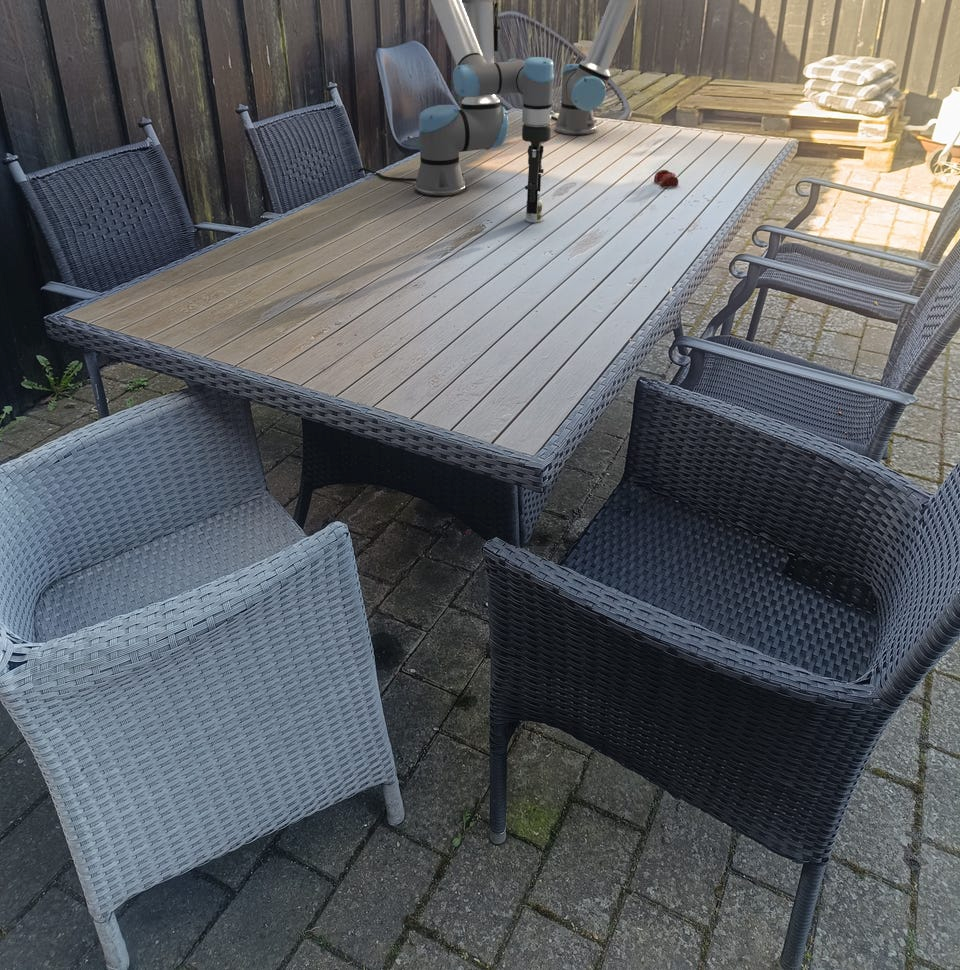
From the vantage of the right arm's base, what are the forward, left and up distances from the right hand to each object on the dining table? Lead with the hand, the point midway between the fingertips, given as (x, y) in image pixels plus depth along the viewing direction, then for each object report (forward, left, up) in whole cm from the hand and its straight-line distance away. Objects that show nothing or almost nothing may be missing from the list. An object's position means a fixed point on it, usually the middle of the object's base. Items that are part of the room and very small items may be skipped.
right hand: (491, 54), depth 289 cm
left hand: (+87, +11, -25) cm, 91 cm away
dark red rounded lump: (+53, +54, -29) cm, 81 cm away
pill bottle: (+87, +11, -29) cm, 92 cm away
